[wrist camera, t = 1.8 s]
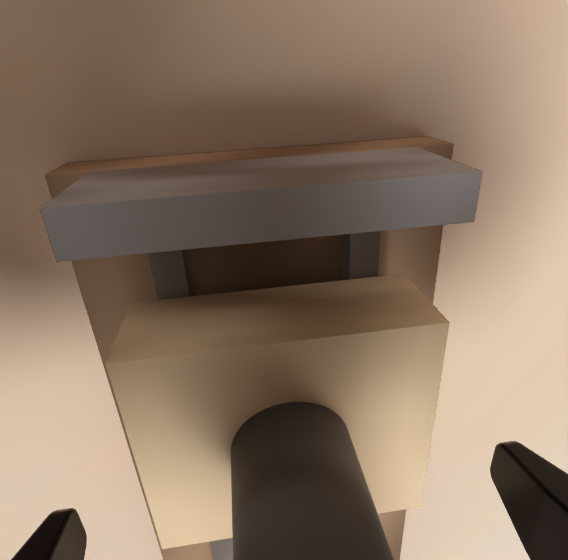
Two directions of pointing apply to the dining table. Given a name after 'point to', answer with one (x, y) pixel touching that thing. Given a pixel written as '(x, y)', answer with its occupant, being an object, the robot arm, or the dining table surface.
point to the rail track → (253, 232)
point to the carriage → (282, 413)
